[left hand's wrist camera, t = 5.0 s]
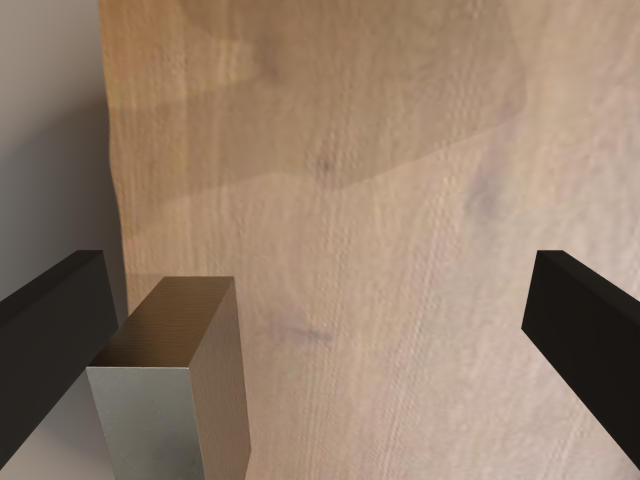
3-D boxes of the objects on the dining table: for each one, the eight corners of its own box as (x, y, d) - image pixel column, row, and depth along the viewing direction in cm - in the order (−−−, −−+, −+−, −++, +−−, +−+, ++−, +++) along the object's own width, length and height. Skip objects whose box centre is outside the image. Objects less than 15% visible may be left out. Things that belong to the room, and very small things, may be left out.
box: (163, 276, 35) (84, 367, 24) (234, 276, 35) (187, 368, 24) (193, 448, 42) (142, 581, 31) (251, 449, 42) (222, 583, 31)
